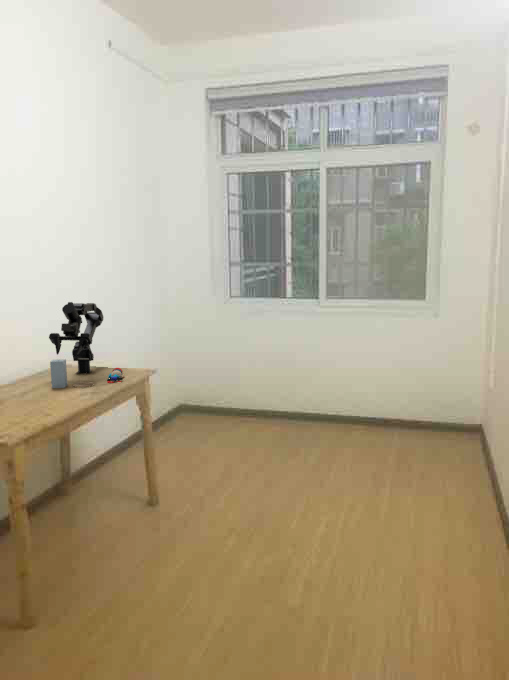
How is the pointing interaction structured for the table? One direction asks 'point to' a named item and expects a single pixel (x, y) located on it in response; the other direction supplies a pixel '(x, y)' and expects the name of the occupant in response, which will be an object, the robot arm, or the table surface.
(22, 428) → the table surface
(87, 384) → the coaster
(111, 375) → the toy figure
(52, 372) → the pale blue box
